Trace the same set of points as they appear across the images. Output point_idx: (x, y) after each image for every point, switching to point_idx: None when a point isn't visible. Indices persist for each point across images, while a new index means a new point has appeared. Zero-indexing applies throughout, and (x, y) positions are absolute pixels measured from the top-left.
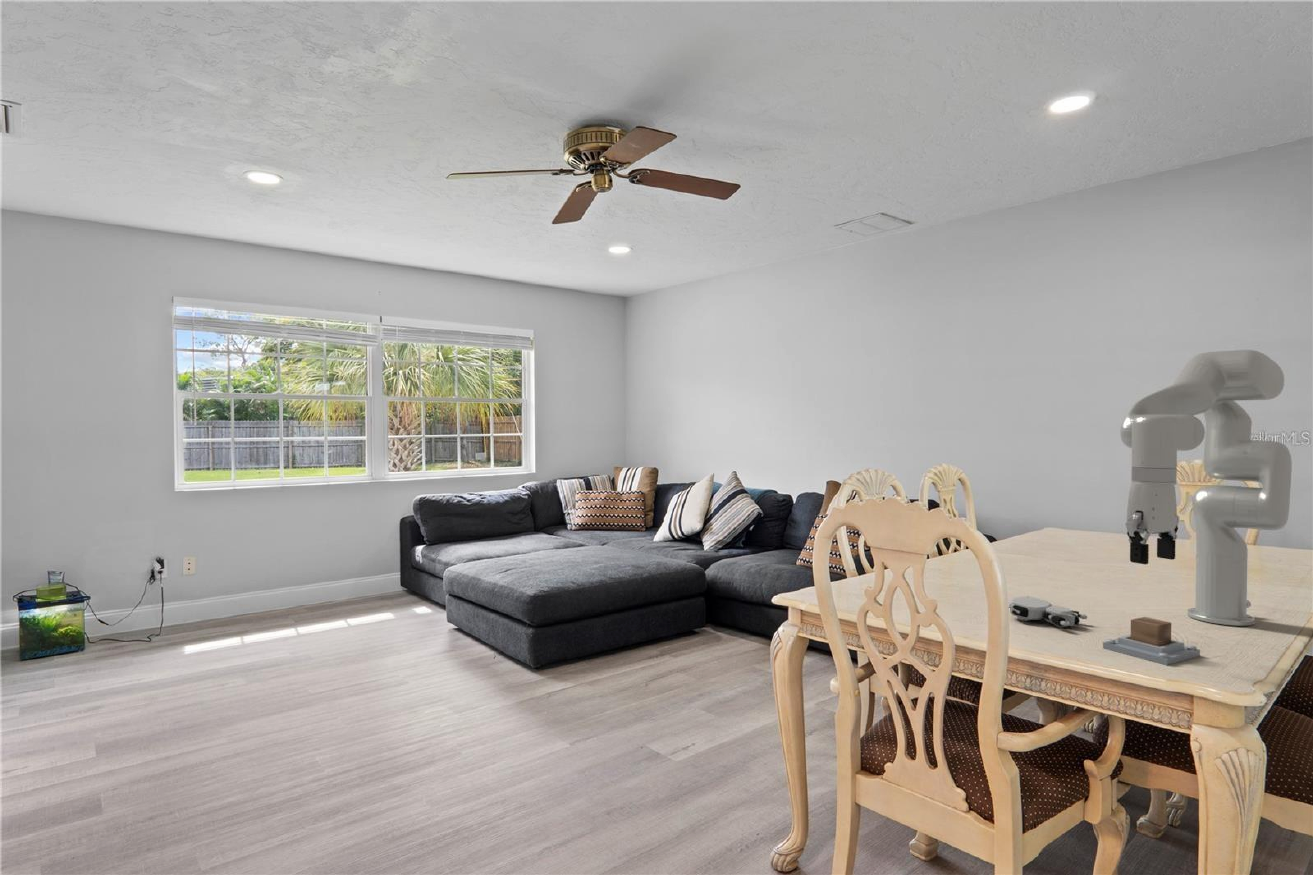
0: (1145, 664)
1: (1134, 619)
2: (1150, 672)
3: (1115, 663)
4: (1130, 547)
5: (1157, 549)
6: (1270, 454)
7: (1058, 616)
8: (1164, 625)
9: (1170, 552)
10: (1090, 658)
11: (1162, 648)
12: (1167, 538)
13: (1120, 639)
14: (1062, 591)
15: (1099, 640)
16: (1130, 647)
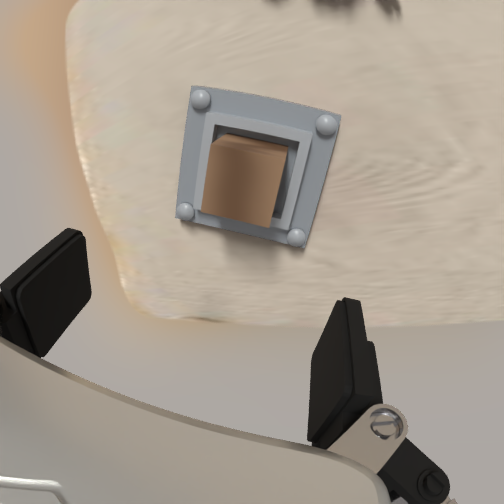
0: (152, 185)
1: (224, 149)
2: (116, 205)
3: (113, 148)
4: (21, 267)
5: (339, 331)
6: None
7: None
8: (235, 218)
9: (315, 377)
10: (105, 106)
11: (196, 208)
12: (325, 439)
13: (206, 118)
14: None
15: (260, 54)
16: (197, 142)
